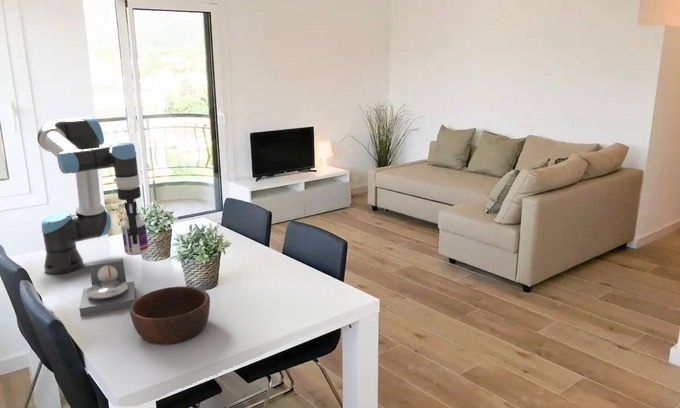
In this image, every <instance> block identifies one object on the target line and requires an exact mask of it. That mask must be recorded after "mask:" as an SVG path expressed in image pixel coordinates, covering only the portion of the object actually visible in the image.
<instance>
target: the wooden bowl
mask: <svg viewBox="0 0 680 408" xmlns="http://www.w3.org/2000/svg"><path fill="white" fill-rule="evenodd" d="M210 305H211V298H210V295H209V293H208V292H207V291H206V290H204V289H201V288H199V287H194V286H171V287H163V288H160V289H155V290H153V291H150V292H147V293H145V294H143V295H142V296H141V295H140V297H138V298H137V299H135V301H134V302H133V303H132V305H131V306H130V308H129V315H130V318H131V321H132V324H133V327H134V329H135V331H136V333H137V334H138V335H139V336H140V338H141V339H143V340H144V341H146V342H148V343H150V344H154V345H161V346H162V345H166V346H167V345H175V344H178V343H182V342H185V341H188V340H191V339H192V338H195V337H196V336H198V335H199V334H200V333H201V332H202V331H203V330H204V328H205V327H206V326H207V323H208V319H209V316H210V309H211V307H210Z"/></svg>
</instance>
